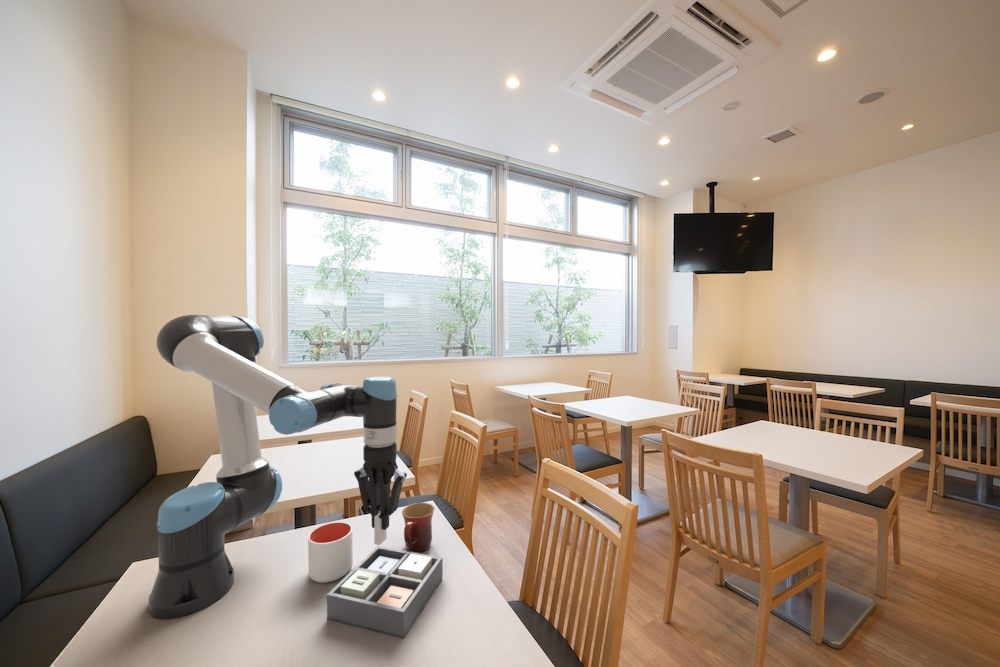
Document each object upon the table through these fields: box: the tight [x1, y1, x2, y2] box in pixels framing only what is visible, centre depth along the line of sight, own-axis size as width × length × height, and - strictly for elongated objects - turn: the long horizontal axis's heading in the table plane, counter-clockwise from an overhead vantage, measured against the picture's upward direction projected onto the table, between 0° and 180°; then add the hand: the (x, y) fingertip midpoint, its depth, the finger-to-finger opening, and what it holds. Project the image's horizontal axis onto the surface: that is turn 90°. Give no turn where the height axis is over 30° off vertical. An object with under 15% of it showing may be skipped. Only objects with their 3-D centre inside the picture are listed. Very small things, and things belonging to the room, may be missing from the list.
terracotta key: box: [377, 585, 414, 608], centre depth 79 cm, size 6×6×4 cm
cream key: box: [398, 554, 432, 580], centre depth 87 cm, size 6×6×4 cm
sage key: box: [341, 570, 379, 600], centre depth 81 cm, size 6×6×4 cm
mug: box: [401, 502, 435, 553], centre depth 102 cm, size 12×9×10 cm
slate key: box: [367, 556, 400, 573], centre depth 89 cm, size 6×6×4 cm
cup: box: [307, 521, 353, 584], centre depth 93 cm, size 10×10×10 cm
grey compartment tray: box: [326, 545, 443, 639], centre depth 84 cm, size 18×18×5 cm
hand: (380, 541), depth 89 cm, fingers closed
